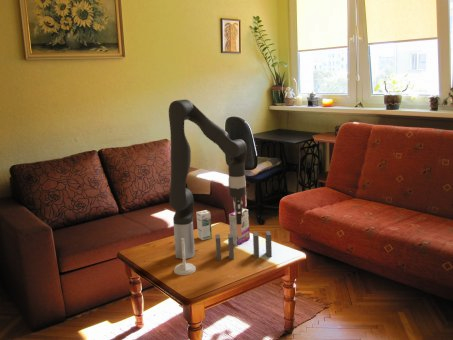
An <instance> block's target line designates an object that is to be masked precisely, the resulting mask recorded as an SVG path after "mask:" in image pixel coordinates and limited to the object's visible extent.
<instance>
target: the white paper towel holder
mask: <svg viewBox="0 0 453 340" xmlns="http://www.w3.org/2000/svg"><path fill="white" fill-rule="evenodd" d="M181 241H182V258H183V259H182V263H179V264H177V265H176V266H175V267H174V269H173V272H174V274H175V275H177V276H188V275H192V274H194V273H195V272H196V269H197V267H196V266H195V265H194V264H193V263H190V262H186V260H187V259H185V244H184V238H181Z"/></svg>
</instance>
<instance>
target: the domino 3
mask: <svg viewBox="0 0 453 340" xmlns="http://www.w3.org/2000/svg"><path fill="white" fill-rule="evenodd" d="M239 213H240V212H238V214H239ZM236 234H237V238H240V237H242V229H241V224H238V225H237V223H236Z"/></svg>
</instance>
